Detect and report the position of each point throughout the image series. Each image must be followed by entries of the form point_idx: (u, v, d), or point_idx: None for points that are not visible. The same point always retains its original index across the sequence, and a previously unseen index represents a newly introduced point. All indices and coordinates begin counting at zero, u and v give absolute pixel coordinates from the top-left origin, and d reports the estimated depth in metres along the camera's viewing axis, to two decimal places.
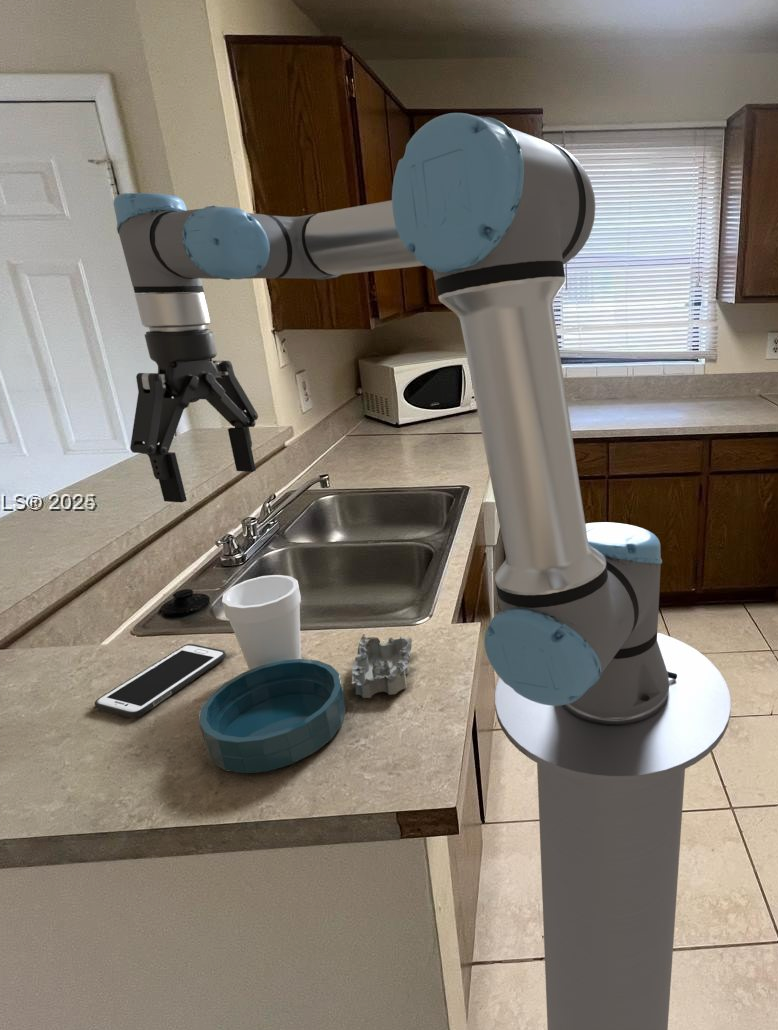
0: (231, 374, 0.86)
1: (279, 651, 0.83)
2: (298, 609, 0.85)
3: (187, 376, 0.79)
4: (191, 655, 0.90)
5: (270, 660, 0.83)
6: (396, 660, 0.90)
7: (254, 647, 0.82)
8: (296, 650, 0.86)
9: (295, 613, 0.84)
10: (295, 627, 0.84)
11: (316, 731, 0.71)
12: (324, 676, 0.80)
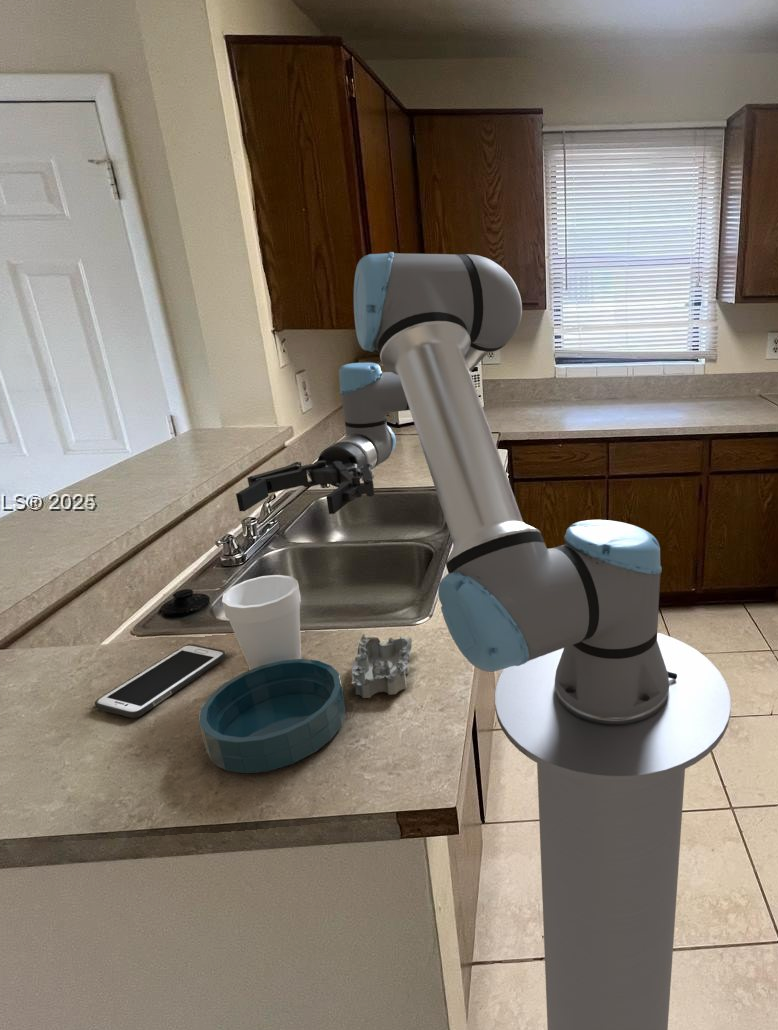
0: (366, 467, 1.01)
1: (279, 651, 0.83)
2: (298, 609, 0.85)
3: None
4: (191, 655, 0.90)
5: (270, 660, 0.83)
6: (396, 660, 0.90)
7: (254, 647, 0.82)
8: (296, 650, 0.86)
9: (295, 613, 0.84)
10: (295, 627, 0.84)
11: (316, 731, 0.71)
12: (324, 676, 0.80)
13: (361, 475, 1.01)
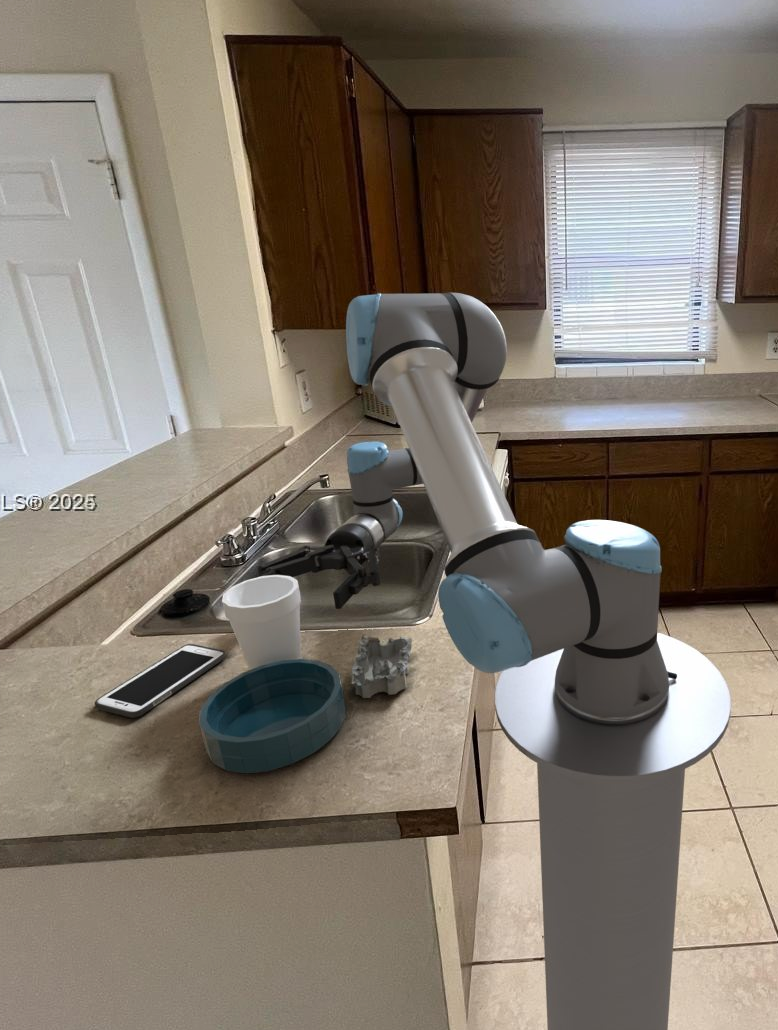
0: (372, 552, 1.04)
1: (279, 651, 0.83)
2: (298, 609, 0.85)
3: None
4: (191, 655, 0.90)
5: (270, 660, 0.83)
6: (396, 660, 0.90)
7: (254, 647, 0.82)
8: (296, 650, 0.86)
9: (295, 613, 0.84)
10: (295, 627, 0.84)
11: (316, 731, 0.71)
12: (324, 676, 0.80)
13: (367, 560, 1.04)
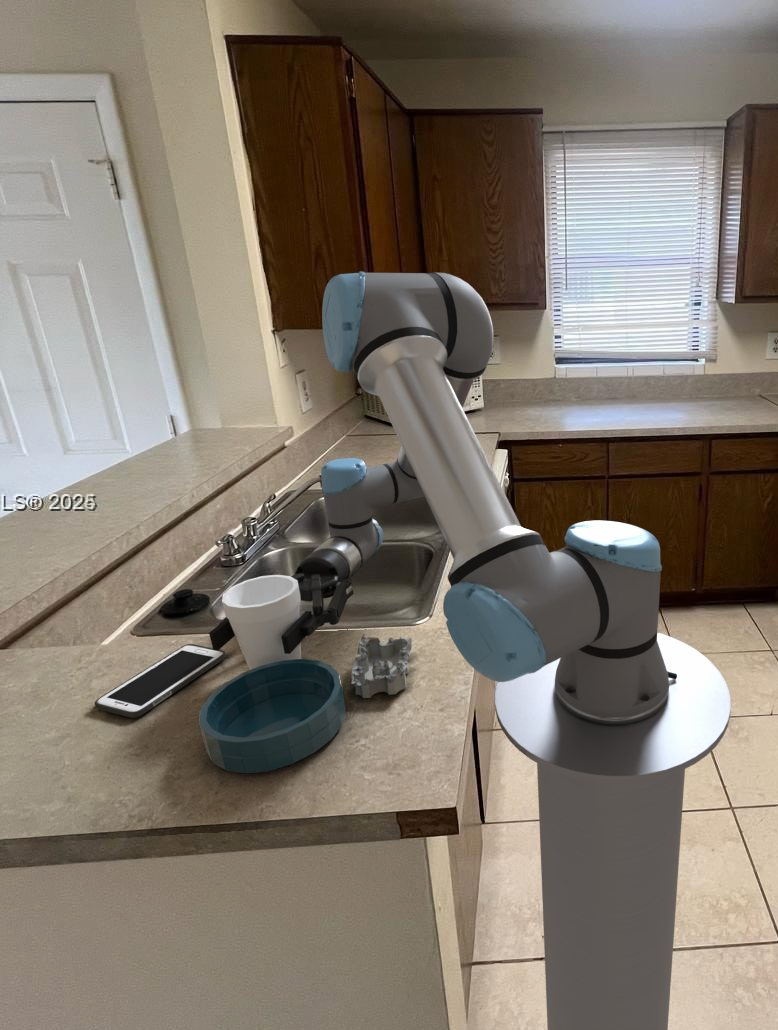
0: (342, 584, 0.94)
1: (279, 651, 0.83)
2: (298, 609, 0.85)
3: None
4: (191, 655, 0.90)
5: (270, 660, 0.83)
6: (396, 660, 0.90)
7: (254, 647, 0.82)
8: (296, 650, 0.86)
9: (295, 613, 0.84)
10: None
11: (316, 731, 0.71)
12: (324, 676, 0.80)
13: None
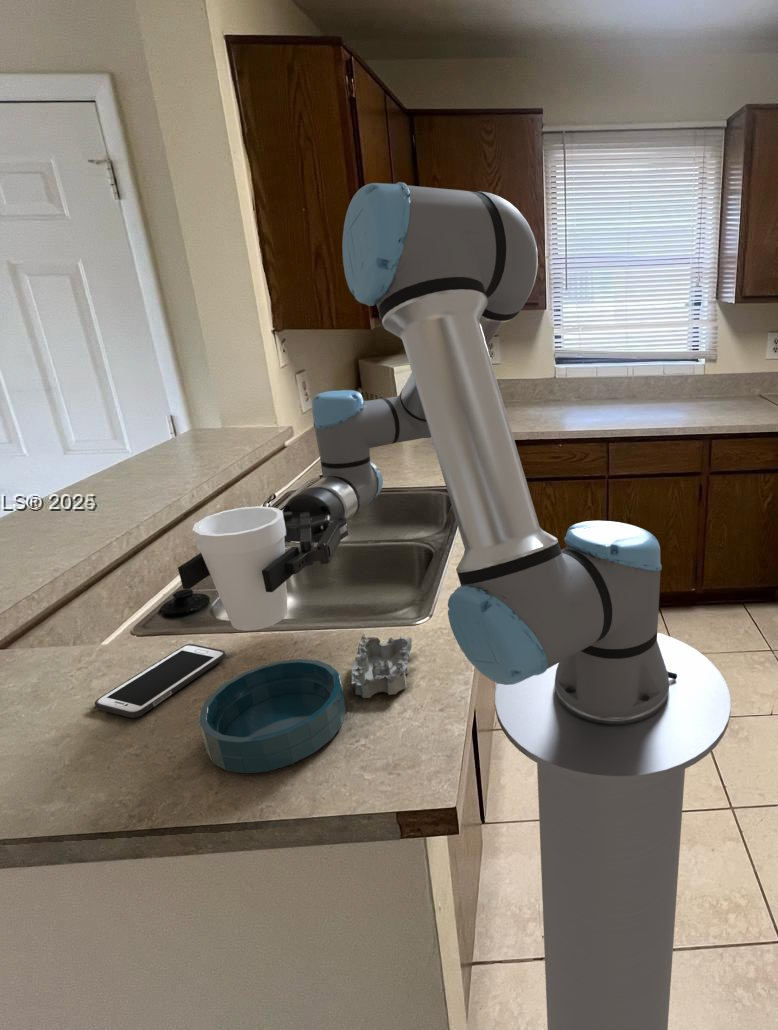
0: (335, 522, 0.82)
1: (260, 591, 0.71)
2: (283, 543, 0.73)
3: None
4: (191, 655, 0.90)
5: (250, 601, 0.71)
6: (396, 660, 0.90)
7: (231, 585, 0.70)
8: (281, 592, 0.74)
9: (279, 547, 0.72)
10: None
11: (316, 731, 0.71)
12: (324, 676, 0.80)
13: None
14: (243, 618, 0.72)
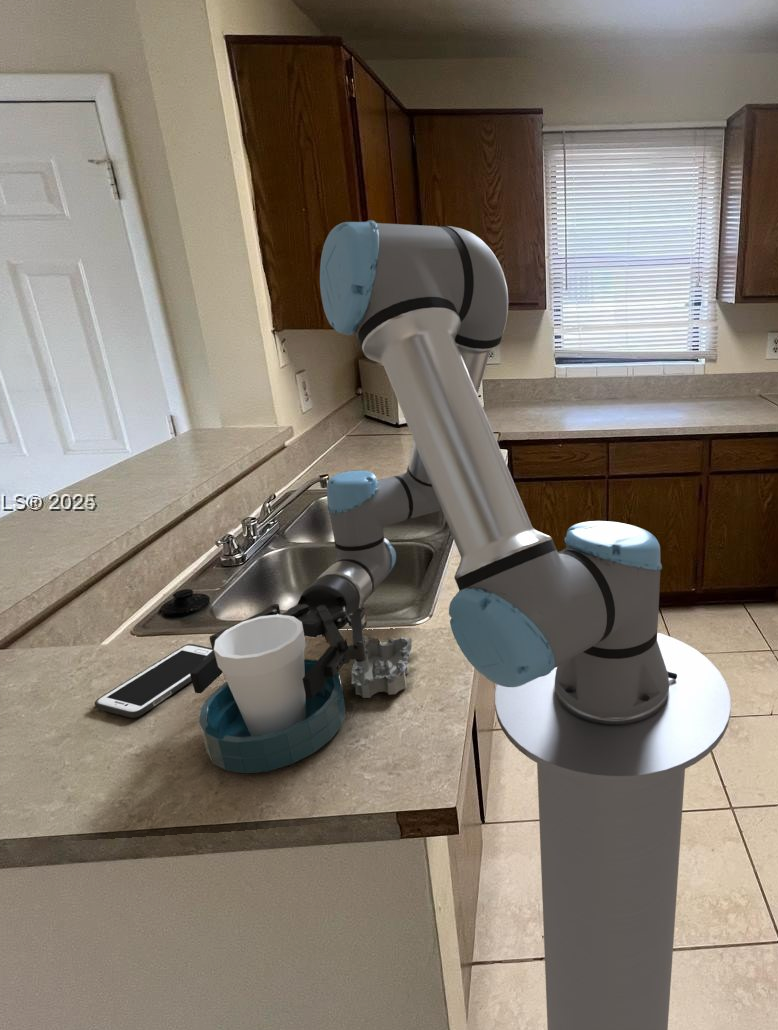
0: (356, 614, 0.83)
1: (280, 706, 0.72)
2: (302, 656, 0.73)
3: None
4: (191, 655, 0.90)
5: (270, 716, 0.71)
6: (396, 660, 0.90)
7: (251, 702, 0.70)
8: (300, 703, 0.74)
9: (299, 661, 0.72)
10: (299, 677, 0.73)
11: (316, 731, 0.71)
12: None
13: (351, 624, 0.83)
14: (263, 732, 0.72)
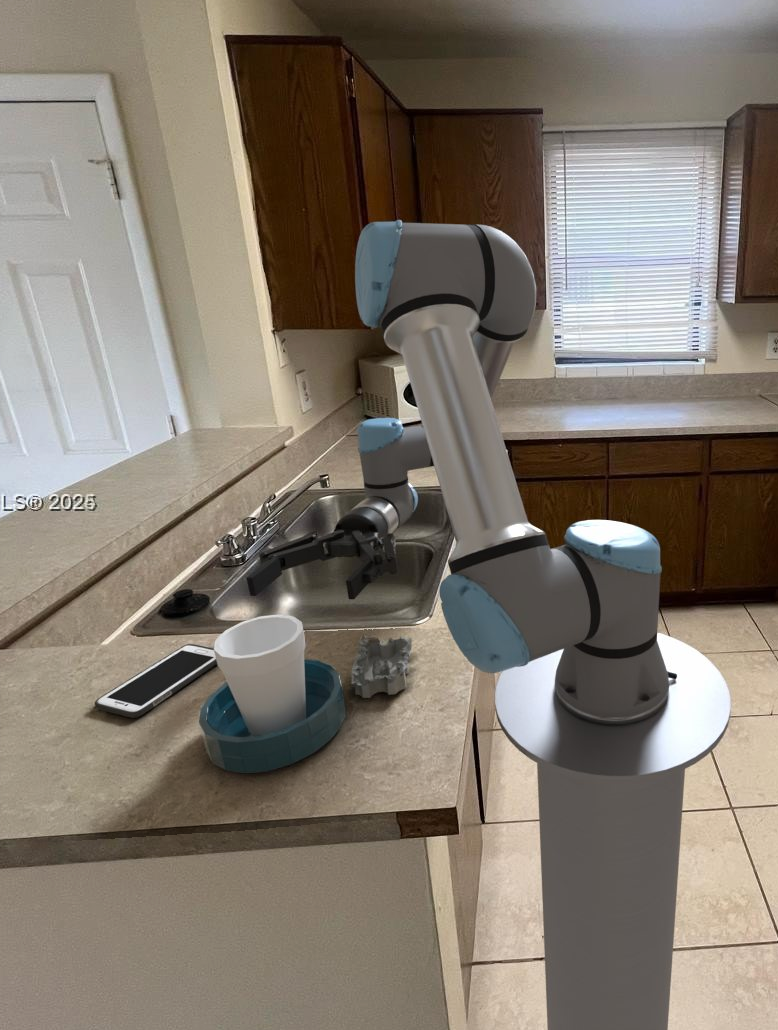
0: (387, 538, 0.93)
1: (280, 706, 0.72)
2: (302, 656, 0.73)
3: None
4: (191, 655, 0.90)
5: (270, 716, 0.71)
6: (396, 660, 0.90)
7: (251, 702, 0.70)
8: (300, 703, 0.74)
9: (299, 661, 0.72)
10: (299, 677, 0.73)
11: (316, 731, 0.71)
12: (324, 676, 0.80)
13: (382, 546, 0.93)
14: (263, 732, 0.72)
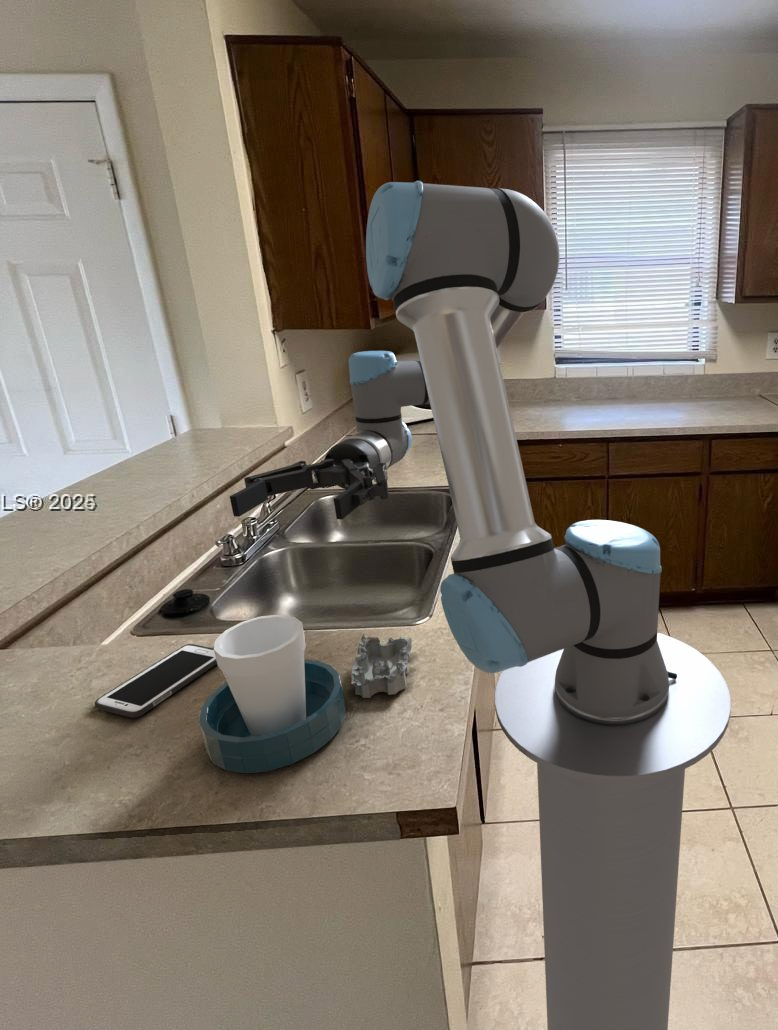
0: (379, 466, 0.89)
1: (280, 706, 0.72)
2: (302, 656, 0.73)
3: None
4: (191, 655, 0.90)
5: (270, 716, 0.71)
6: (396, 660, 0.90)
7: (251, 702, 0.70)
8: (300, 703, 0.74)
9: (299, 661, 0.72)
10: (299, 677, 0.73)
11: (316, 731, 0.71)
12: (324, 676, 0.80)
13: (373, 475, 0.89)
14: (263, 732, 0.72)
